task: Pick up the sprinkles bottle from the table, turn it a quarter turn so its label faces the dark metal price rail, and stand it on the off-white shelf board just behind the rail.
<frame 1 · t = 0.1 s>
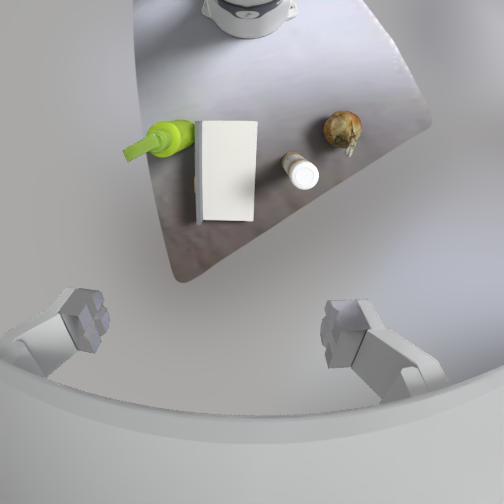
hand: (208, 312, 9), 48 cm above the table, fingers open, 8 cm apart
shelf board: (227, 169, 53), on the table
soap dispenser: (180, 134, 50), on the table
onion: (338, 129, 49), on the table
sprinkles bottle: (292, 162, 53), on the table
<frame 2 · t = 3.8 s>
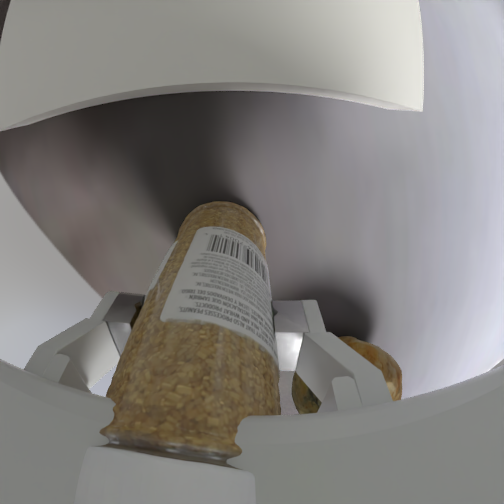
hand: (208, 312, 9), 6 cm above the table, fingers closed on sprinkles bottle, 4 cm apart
onion: (335, 352, 19), on the table
sprinkles bottle: (223, 239, 14), on the table, touching gripper
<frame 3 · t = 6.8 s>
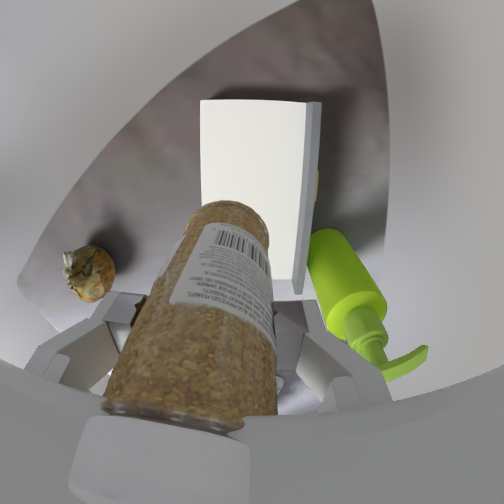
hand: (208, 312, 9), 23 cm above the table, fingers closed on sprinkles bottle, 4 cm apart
shelf board: (254, 189, 30), on the table
soap dispenser: (328, 247, 34), on the table
onion: (99, 260, 35), on the table
sprinkles bottle: (228, 237, 15), point 17 cm above the table, touching gripper
when the fingers open (10 cm above the table, at t = 10.1 s): sprinkles bottle moves 1 cm, resting on shelf board.
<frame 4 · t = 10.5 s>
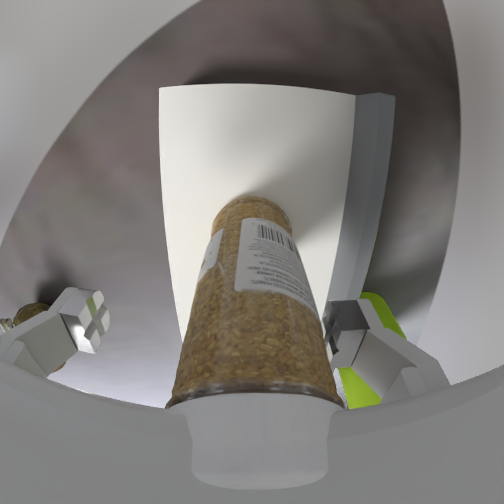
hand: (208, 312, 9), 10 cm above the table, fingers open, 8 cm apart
shelf board: (257, 239, 19), on the table
soap dispenser: (361, 314, 23), on the table
onion: (54, 317, 24), on the table
sprinkles bottle: (252, 231, 16), point 3 cm above the table, touching shelf board
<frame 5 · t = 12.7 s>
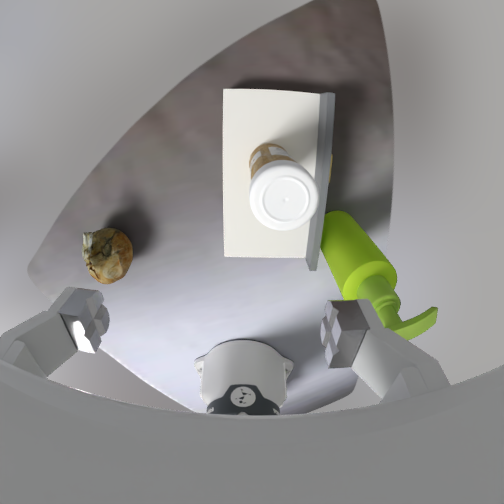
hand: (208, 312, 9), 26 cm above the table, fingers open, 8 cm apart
shelf board: (270, 173, 32), on the table
soap dispenser: (338, 228, 36), on the table
onion: (116, 243, 37), on the table
sprinkles bottle: (269, 162, 29), point 3 cm above the table, touching shelf board
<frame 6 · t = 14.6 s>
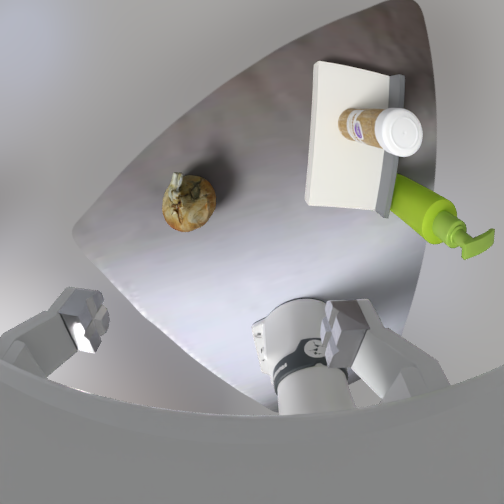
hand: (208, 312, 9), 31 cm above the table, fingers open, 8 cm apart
shelf board: (347, 136, 35), on the table
soap dispenser: (396, 190, 38), on the table
onion: (192, 195, 39), on the table
sprinkles bottle: (352, 124, 31), point 3 cm above the table, touching shelf board
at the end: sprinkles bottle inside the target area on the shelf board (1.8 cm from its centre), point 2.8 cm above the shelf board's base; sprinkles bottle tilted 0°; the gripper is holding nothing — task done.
